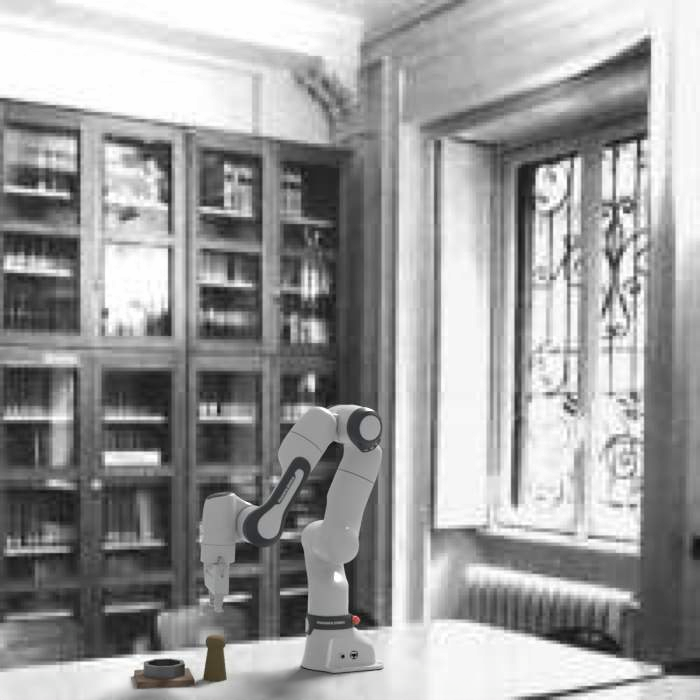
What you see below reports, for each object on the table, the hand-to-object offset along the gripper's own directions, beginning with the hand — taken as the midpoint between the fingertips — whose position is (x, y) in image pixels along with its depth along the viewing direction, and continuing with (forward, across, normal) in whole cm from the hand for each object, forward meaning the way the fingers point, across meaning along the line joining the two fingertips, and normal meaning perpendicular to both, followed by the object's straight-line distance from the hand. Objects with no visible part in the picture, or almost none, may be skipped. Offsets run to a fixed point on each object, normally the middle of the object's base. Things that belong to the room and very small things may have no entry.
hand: (215, 609), depth 282 cm
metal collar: (+16, 0, +12) cm, 21 cm away
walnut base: (+18, 0, +12) cm, 22 cm away
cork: (+18, 0, -1) cm, 18 cm away
